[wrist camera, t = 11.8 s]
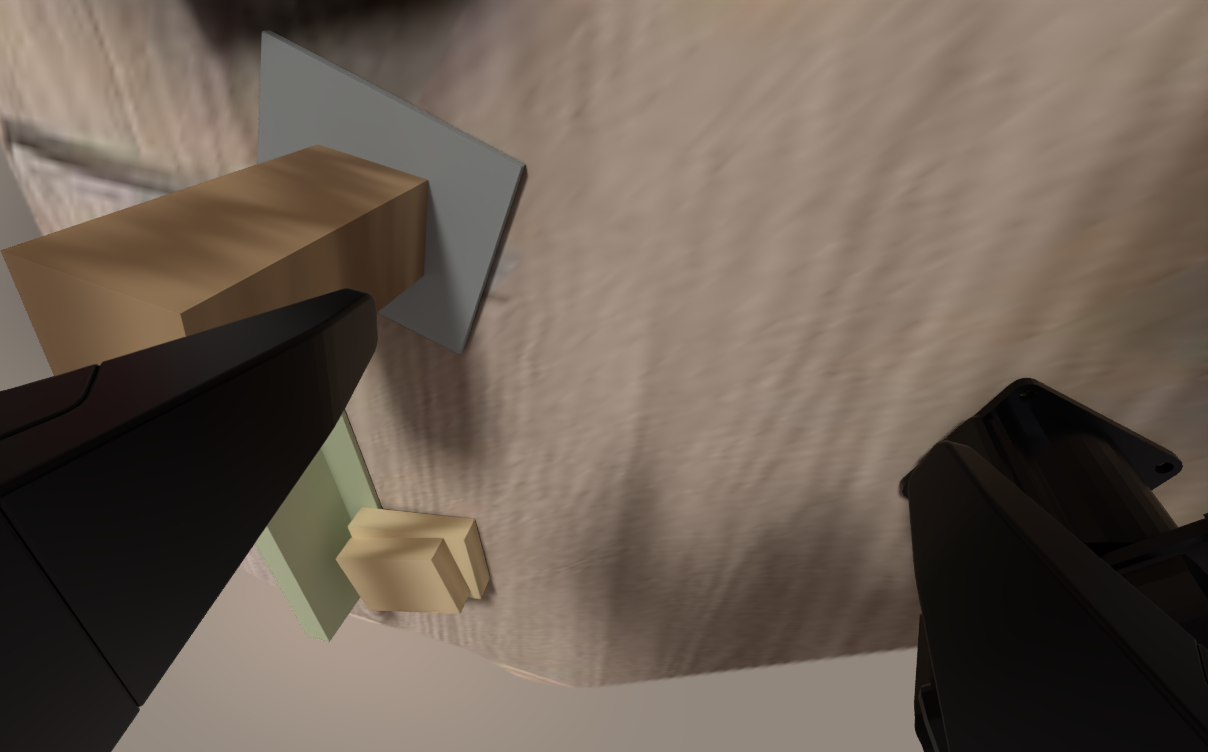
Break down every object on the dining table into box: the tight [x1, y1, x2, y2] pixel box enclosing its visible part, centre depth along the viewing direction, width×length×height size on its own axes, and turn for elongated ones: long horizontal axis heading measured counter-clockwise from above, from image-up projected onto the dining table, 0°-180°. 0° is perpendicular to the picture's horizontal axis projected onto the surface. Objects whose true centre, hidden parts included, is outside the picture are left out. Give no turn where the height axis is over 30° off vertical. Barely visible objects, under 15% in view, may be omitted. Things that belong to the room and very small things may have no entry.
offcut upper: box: [336, 538, 470, 614], centre depth 33 cm, size 6×4×2 cm
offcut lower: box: [348, 507, 490, 599], centre depth 34 cm, size 7×5×2 cm
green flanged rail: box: [255, 410, 382, 642], centre depth 31 cm, size 5×18×5 cm, turn 4°
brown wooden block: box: [1, 144, 428, 376], centre depth 18 cm, size 4×4×11 cm
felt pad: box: [257, 30, 525, 355], centre depth 23 cm, size 10×9×1 cm
